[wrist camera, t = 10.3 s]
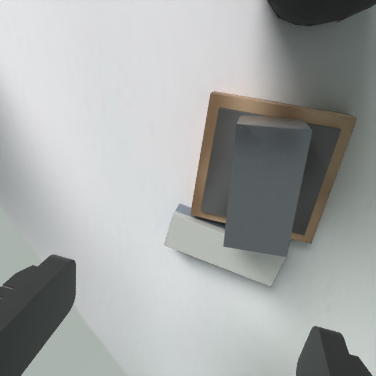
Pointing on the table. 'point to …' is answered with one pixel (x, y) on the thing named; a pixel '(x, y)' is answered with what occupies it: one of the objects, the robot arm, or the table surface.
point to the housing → (265, 182)
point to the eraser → (218, 247)
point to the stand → (314, 168)
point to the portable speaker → (318, 10)
